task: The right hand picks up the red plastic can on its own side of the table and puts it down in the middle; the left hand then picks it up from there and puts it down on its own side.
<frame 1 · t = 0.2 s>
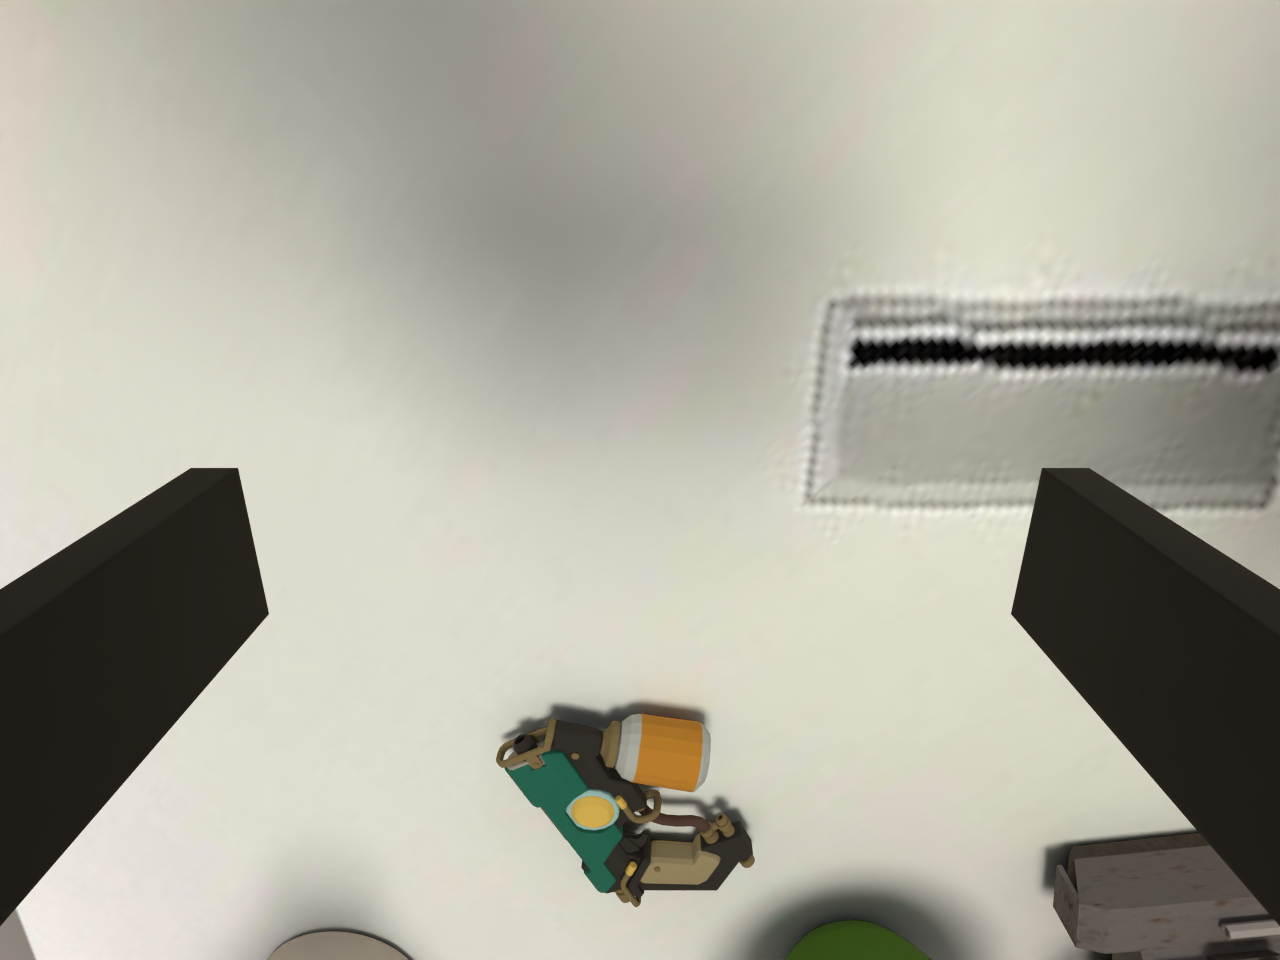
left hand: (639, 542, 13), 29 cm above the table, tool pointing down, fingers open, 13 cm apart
vase: (843, 952, 57), on the table
spray gun: (631, 790, 52), on the table
toy: (1205, 924, 56), on the table
bust sculpture: (334, 950, 57), on the table
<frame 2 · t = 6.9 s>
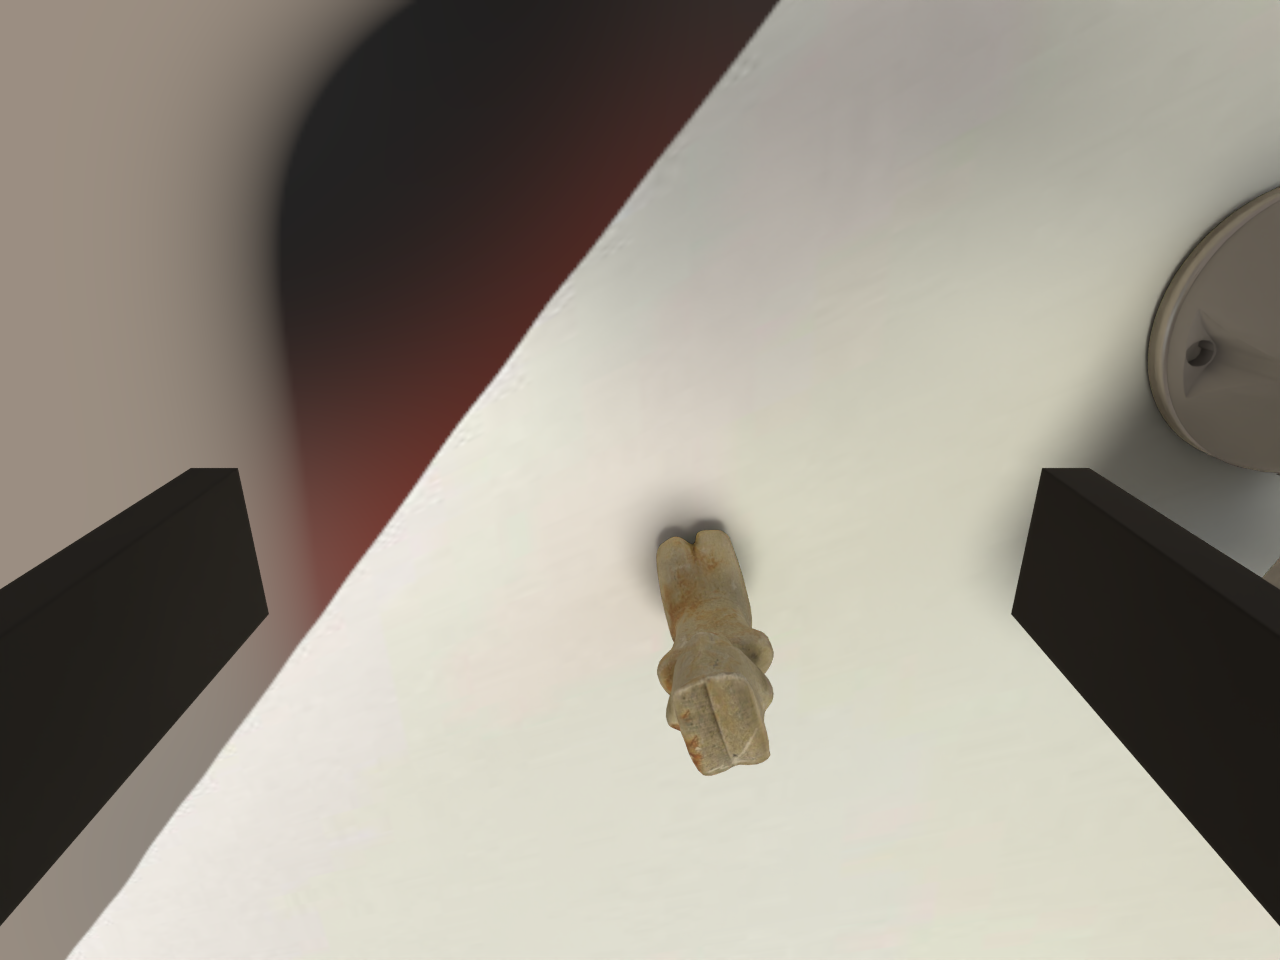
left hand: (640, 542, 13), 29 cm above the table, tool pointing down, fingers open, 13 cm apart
sculpture: (701, 574, 46), on the table
when the right hand's fingers open (4 cm above the table, at t = 21.1 s): can drops 2 cm, on the table.
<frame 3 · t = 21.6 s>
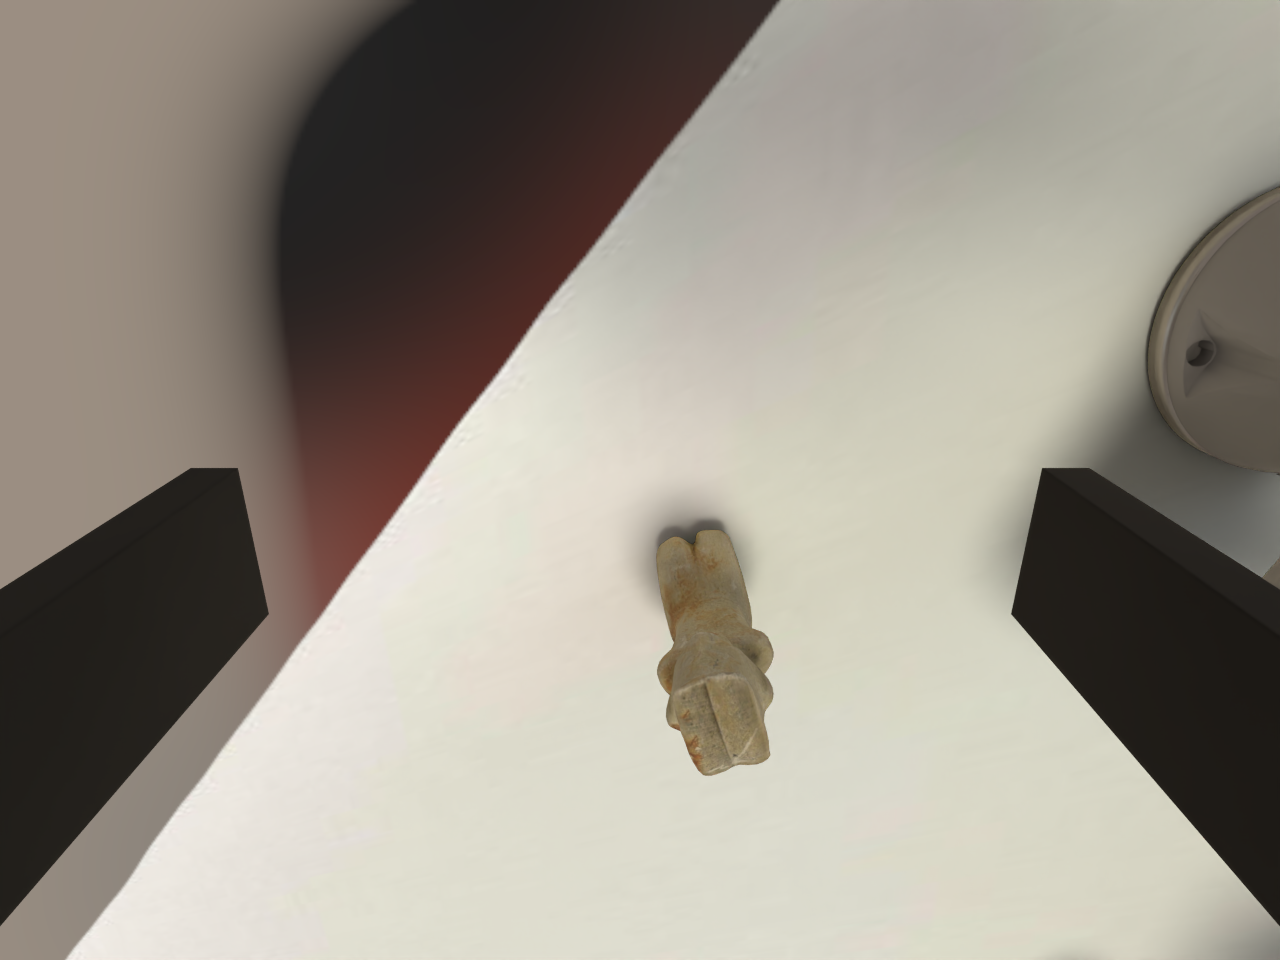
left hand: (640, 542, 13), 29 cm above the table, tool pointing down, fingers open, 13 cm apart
sculpture: (701, 574, 46), on the table
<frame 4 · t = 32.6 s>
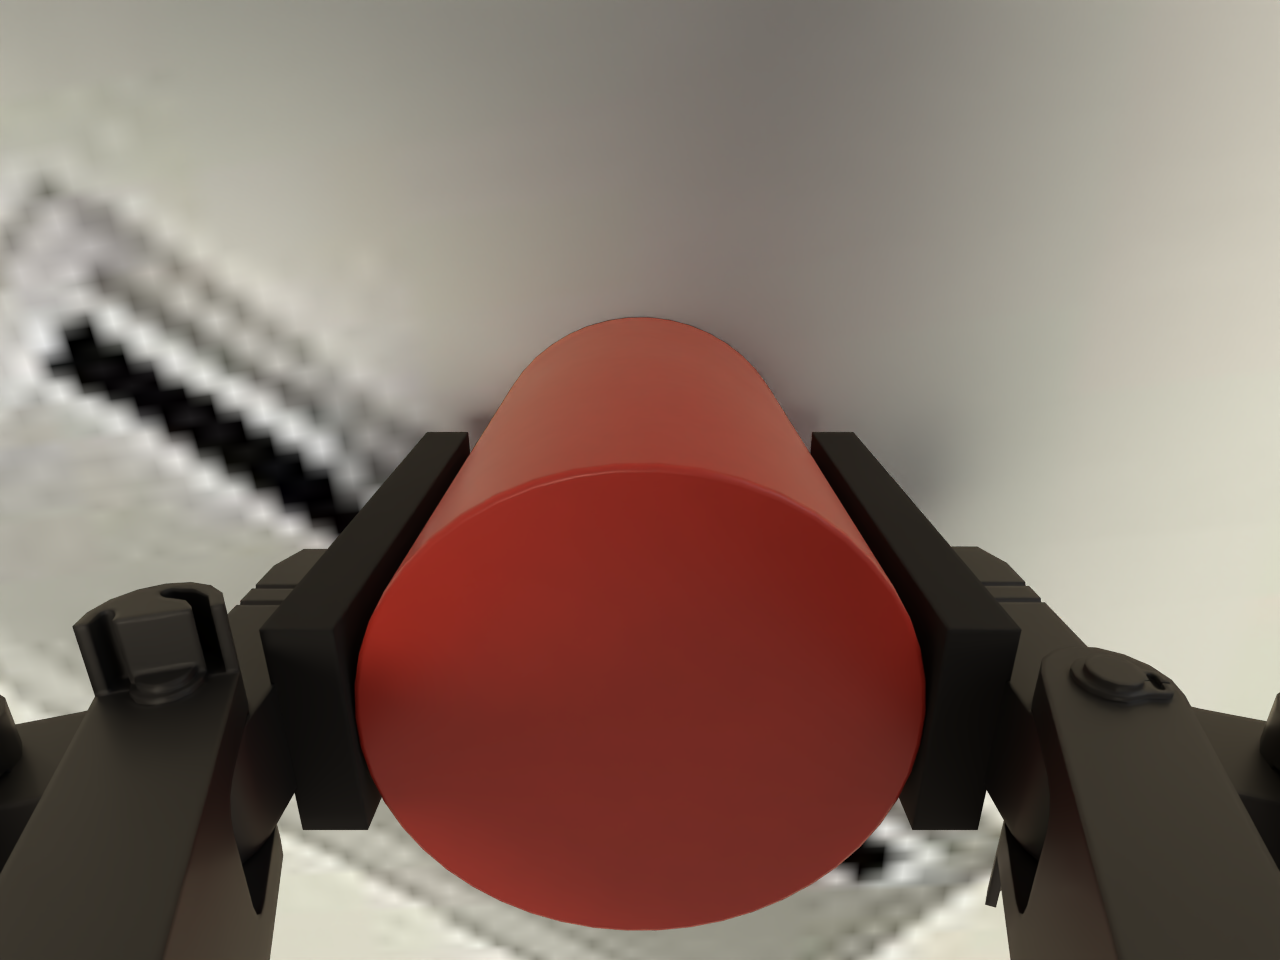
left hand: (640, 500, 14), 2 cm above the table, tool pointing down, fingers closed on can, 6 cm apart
can: (640, 464, 16), on the table, touching left hand
when the left hand's fingers open (4 cm above the table, at t = 38.4 s): can drops 2 cm, on the table.
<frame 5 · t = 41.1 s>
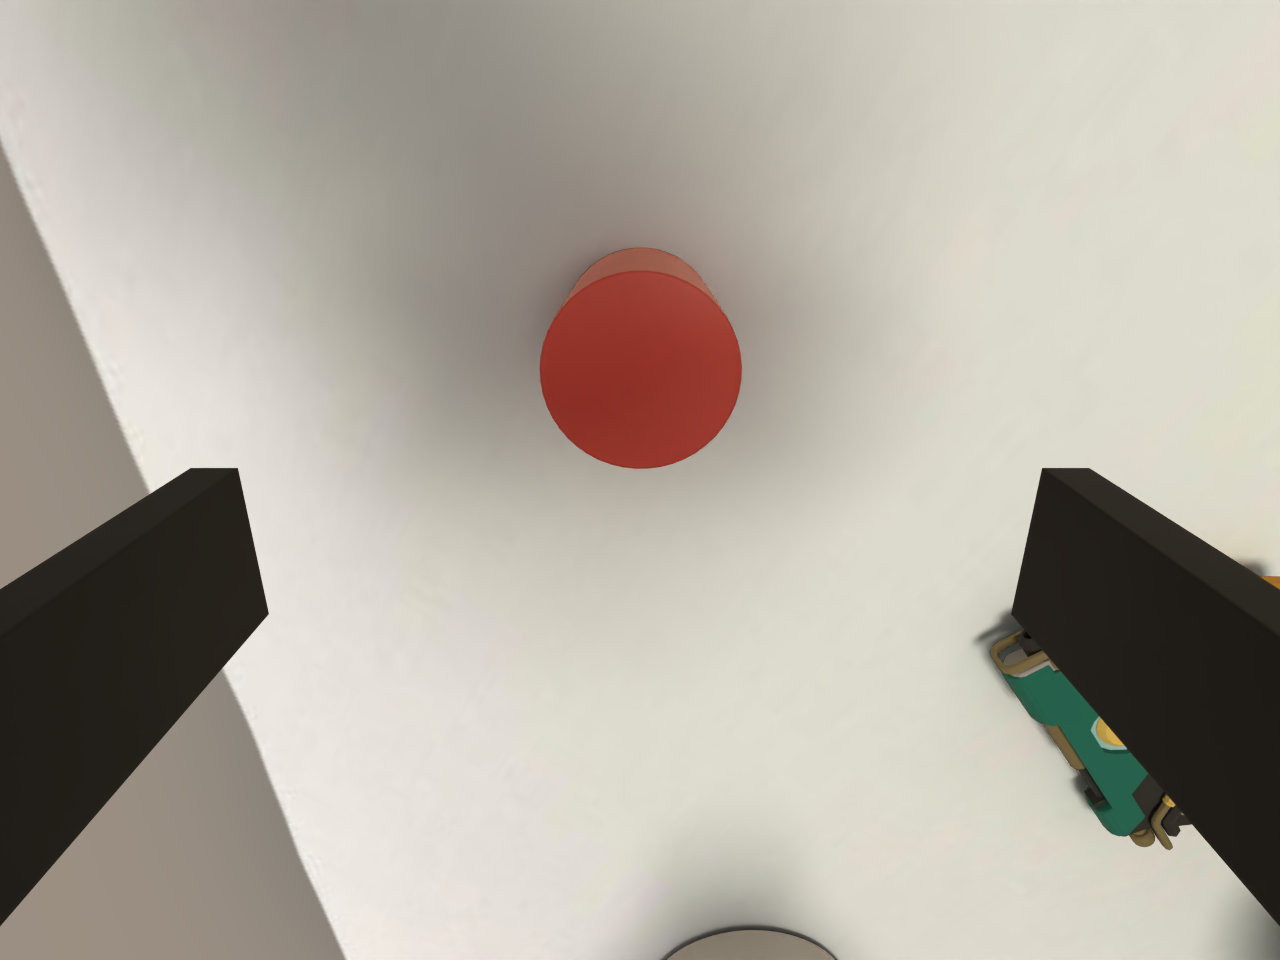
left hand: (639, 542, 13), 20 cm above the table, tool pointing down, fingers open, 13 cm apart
can: (640, 326, 31), on the table
spray gun: (1147, 692, 38), on the table
bust sculpture: (733, 955, 45), on the table
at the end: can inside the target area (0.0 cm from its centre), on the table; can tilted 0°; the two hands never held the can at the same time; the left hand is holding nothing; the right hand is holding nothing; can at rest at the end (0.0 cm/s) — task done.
